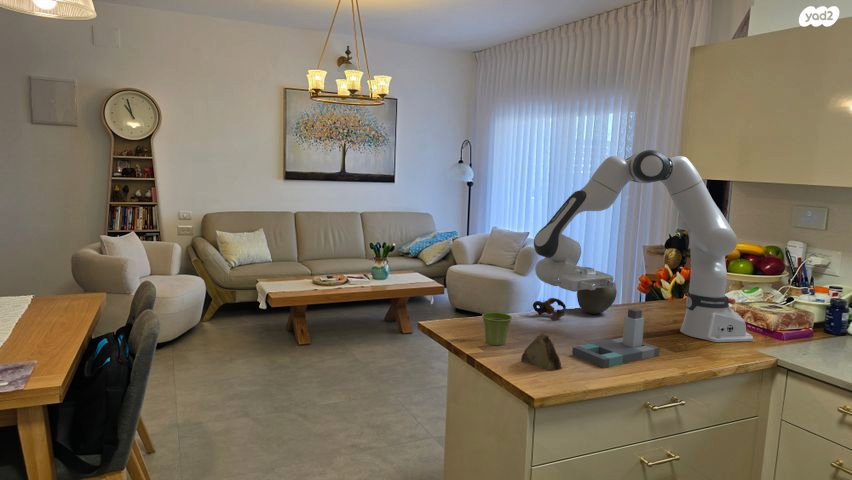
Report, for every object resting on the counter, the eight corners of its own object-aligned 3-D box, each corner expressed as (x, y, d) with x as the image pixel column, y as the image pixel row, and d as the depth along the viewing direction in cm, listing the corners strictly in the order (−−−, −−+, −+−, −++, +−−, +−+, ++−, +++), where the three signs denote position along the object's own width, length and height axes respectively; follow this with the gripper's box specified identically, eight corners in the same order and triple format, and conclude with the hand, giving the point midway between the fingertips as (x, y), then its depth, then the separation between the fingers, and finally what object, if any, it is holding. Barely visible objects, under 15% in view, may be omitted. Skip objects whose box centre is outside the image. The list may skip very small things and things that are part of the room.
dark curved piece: (557, 314, 217) (566, 299, 212) (560, 331, 209) (569, 315, 204) (528, 306, 216) (536, 290, 211) (529, 323, 208) (538, 307, 203)
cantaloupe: (588, 319, 210) (591, 279, 208) (569, 309, 223) (571, 272, 221) (621, 317, 214) (624, 278, 212) (600, 308, 227) (603, 271, 225)
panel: (626, 344, 181) (627, 336, 181) (658, 355, 171) (659, 347, 170) (572, 355, 169) (572, 347, 168) (603, 368, 159) (604, 359, 158)
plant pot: (514, 341, 180) (516, 315, 179) (504, 349, 172) (505, 321, 171) (487, 336, 184) (488, 310, 183) (476, 344, 176) (477, 317, 175)
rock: (510, 353, 161) (530, 360, 152) (525, 328, 163) (545, 333, 154) (536, 373, 165) (557, 380, 155) (550, 348, 167) (572, 354, 157)
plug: (630, 349, 176) (634, 307, 174) (641, 353, 173) (645, 310, 171) (621, 351, 174) (625, 308, 172) (632, 355, 171) (636, 311, 169)
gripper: (550, 270, 187) (581, 279, 176) (594, 267, 198) (626, 274, 186) (549, 289, 188) (580, 298, 176) (592, 285, 199) (624, 293, 187)
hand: (604, 286), depth 181 cm, fingers open, 8 cm apart
